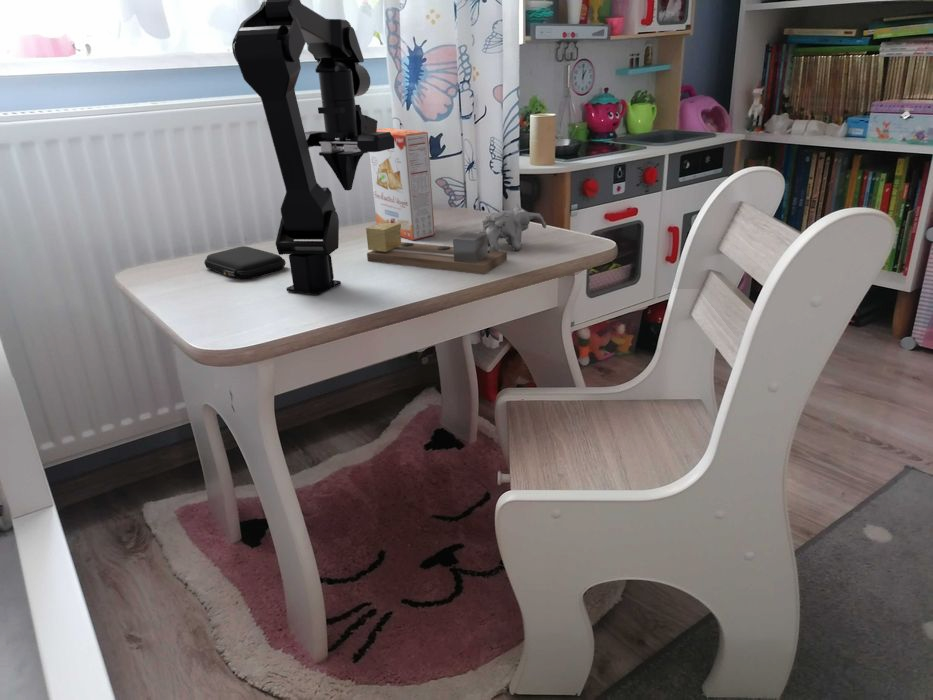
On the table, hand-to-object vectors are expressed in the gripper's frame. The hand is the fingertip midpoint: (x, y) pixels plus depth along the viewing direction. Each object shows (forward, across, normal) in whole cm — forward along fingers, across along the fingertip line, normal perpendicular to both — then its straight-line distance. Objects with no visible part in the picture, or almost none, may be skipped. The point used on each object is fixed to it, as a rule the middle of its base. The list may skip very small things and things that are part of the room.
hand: (348, 190), depth 127 cm
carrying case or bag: (+13, +14, +15) cm, 24 cm away
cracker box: (+12, 0, -18) cm, 22 cm away
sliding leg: (+10, -7, -1) cm, 13 cm away
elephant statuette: (+12, -26, -15) cm, 33 cm away
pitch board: (+12, -17, -2) cm, 21 cm away
